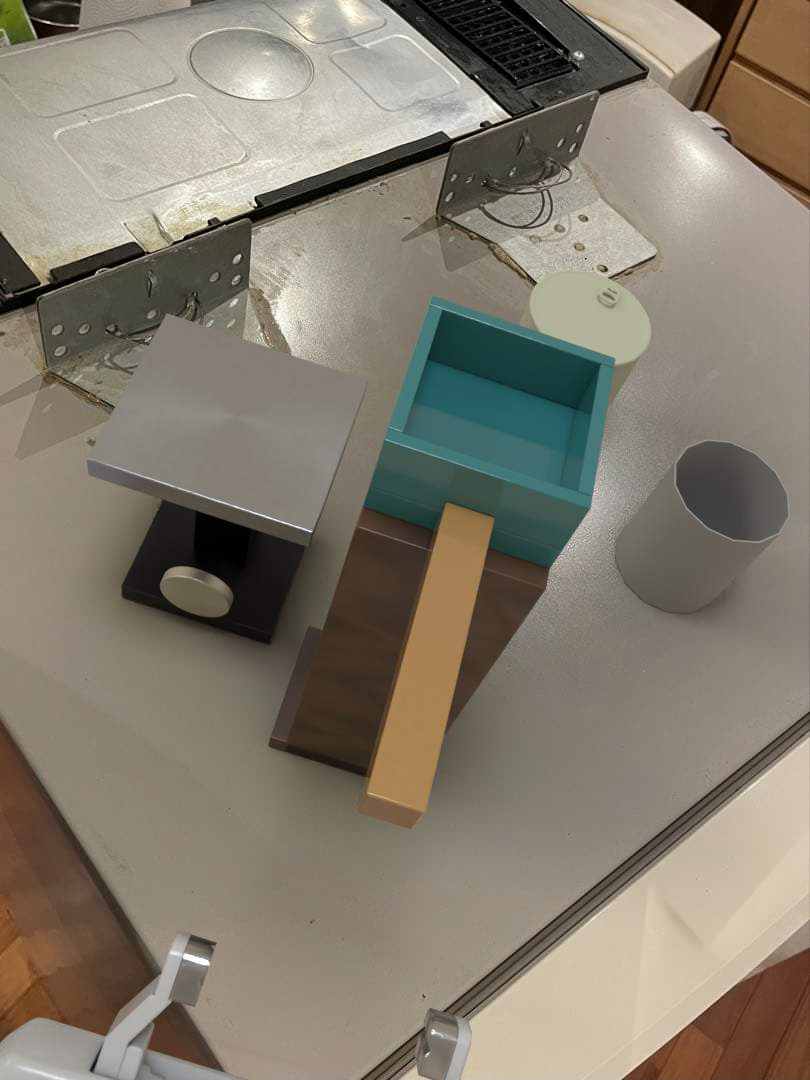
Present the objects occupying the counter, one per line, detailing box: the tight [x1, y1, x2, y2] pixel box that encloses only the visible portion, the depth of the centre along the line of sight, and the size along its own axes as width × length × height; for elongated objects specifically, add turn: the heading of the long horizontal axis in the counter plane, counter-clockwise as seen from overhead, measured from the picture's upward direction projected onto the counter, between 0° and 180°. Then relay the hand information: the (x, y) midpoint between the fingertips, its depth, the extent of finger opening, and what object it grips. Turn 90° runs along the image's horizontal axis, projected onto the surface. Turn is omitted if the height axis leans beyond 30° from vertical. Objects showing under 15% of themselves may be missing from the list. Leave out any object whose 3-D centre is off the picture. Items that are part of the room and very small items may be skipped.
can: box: [518, 269, 652, 411], centre depth 75 cm, size 9×9×12 cm
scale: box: [86, 313, 369, 645], centre depth 60 cm, size 12×11×16 cm
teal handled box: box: [356, 295, 615, 830], centre depth 37 cm, size 8×20×4 cm, turn 166°
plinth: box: [268, 505, 551, 778], centre depth 52 cm, size 10×8×26 cm
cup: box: [615, 438, 791, 614], centre depth 70 cm, size 8×8×10 cm
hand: (324, 980), depth 35 cm, fingers open, 8 cm apart
